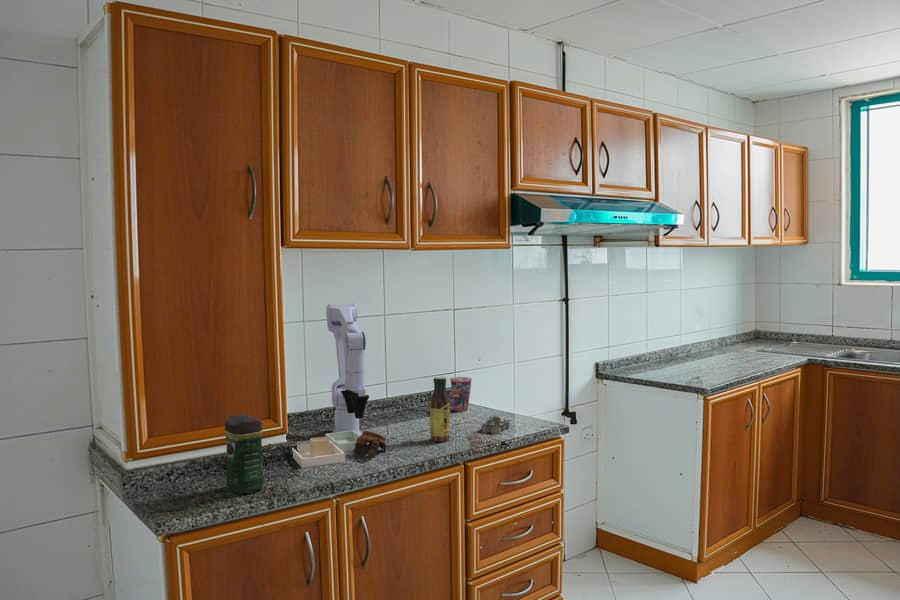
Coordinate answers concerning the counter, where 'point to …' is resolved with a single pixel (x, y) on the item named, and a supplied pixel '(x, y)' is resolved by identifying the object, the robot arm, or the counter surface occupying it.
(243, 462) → the coffee jar
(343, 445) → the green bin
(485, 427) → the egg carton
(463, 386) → the cup
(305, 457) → the cream bin
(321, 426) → the counter surface
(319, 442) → the sandstone block
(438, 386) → the sauce bottle
